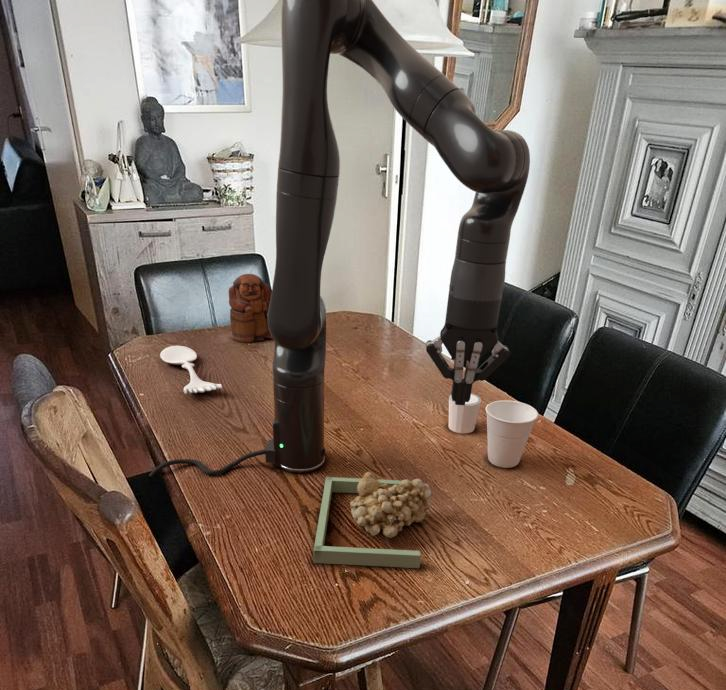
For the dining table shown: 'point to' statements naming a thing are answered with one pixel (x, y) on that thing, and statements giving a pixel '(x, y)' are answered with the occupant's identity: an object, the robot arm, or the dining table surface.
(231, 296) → the wooden figurine
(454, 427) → the white short cylinder
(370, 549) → the frame
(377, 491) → the mineral formation
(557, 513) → the dining table surface
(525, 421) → the cup
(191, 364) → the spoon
